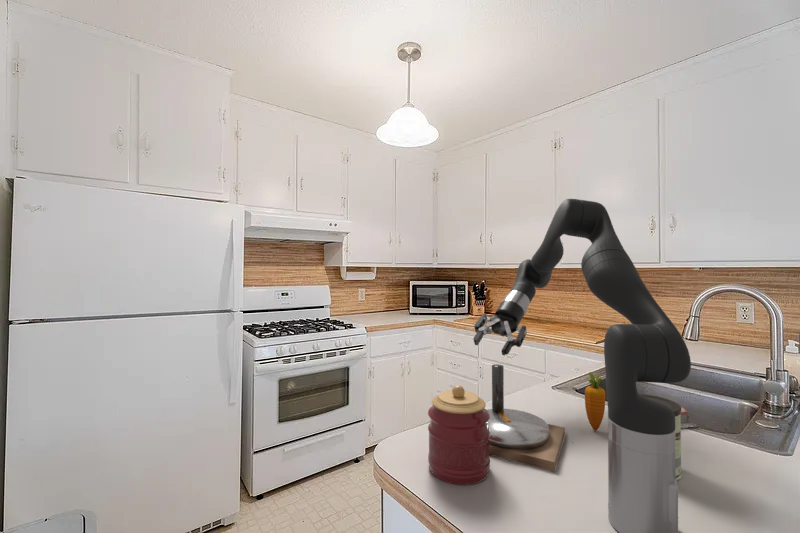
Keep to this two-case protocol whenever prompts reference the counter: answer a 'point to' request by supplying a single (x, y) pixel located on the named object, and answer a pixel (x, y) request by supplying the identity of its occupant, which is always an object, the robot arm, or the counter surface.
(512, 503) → the counter surface
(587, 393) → the carrot
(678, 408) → the coffee can
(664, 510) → the robot arm
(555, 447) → the base board
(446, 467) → the canister
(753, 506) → the counter surface
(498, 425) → the wheel
